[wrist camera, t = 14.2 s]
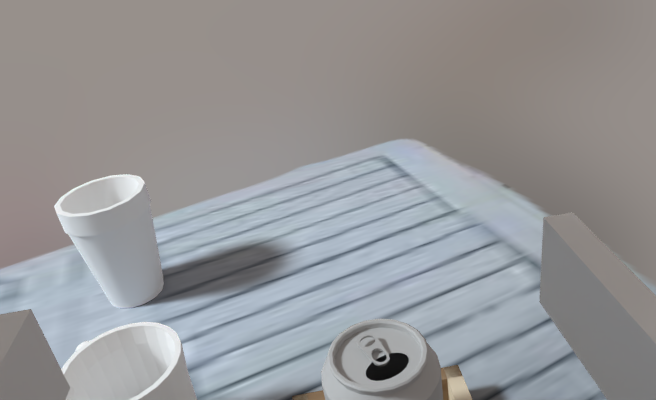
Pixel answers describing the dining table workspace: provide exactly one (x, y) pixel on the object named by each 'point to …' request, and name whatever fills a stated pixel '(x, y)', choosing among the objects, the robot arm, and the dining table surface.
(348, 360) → the can
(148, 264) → the foam cup
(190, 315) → the dining table surface
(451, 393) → the holder
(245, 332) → the dining table surface
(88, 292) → the dining table surface
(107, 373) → the mug
